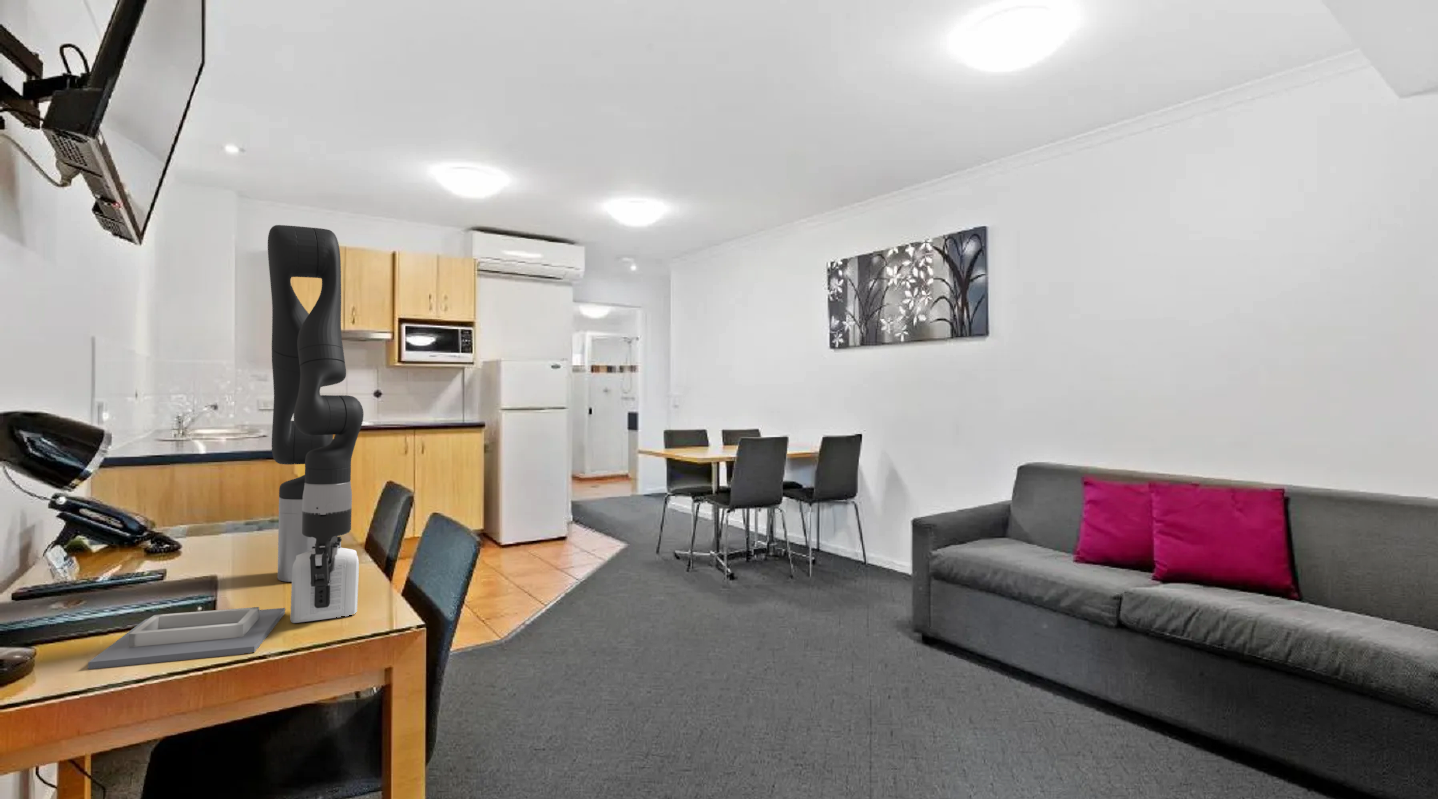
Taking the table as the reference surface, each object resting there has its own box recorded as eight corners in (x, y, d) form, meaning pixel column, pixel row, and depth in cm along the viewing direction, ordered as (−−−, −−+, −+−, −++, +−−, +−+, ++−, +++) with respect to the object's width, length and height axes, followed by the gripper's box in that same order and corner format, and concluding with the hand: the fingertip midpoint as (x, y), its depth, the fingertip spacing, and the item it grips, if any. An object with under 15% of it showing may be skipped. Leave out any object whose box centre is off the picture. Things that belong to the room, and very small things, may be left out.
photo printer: (356, 609, 120) (358, 542, 120) (358, 616, 117) (360, 548, 117) (290, 618, 115) (291, 548, 114) (290, 626, 111) (291, 554, 111)
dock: (146, 624, 110) (146, 607, 110) (284, 613, 117) (285, 596, 117) (88, 669, 93) (88, 648, 93) (254, 652, 100) (254, 633, 100)
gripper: (311, 500, 121) (310, 591, 121) (292, 516, 107) (290, 618, 108) (357, 499, 123) (355, 588, 124) (344, 514, 110) (342, 613, 110)
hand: (325, 601), depth 116 cm, fingers closed on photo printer, 5 cm apart
